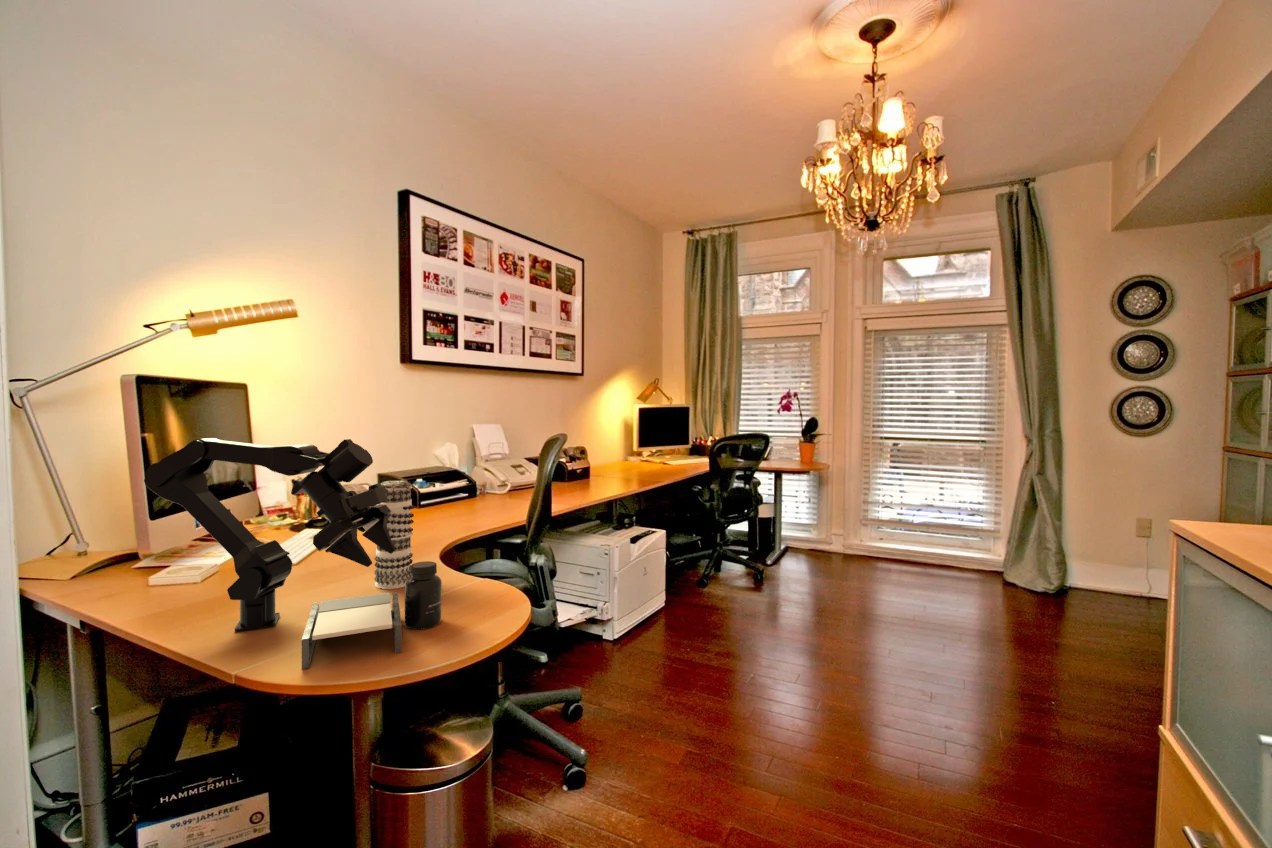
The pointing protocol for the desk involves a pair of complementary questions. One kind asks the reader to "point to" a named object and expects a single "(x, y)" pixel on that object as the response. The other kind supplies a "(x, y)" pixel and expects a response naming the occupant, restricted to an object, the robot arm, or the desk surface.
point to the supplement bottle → (423, 596)
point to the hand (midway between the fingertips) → (382, 558)
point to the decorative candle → (396, 538)
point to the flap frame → (309, 629)
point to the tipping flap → (353, 616)
